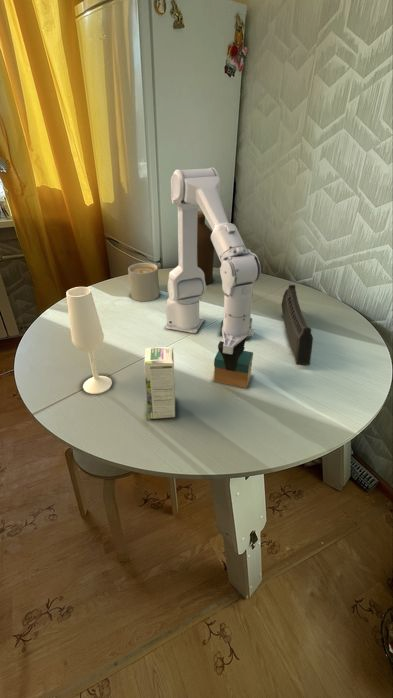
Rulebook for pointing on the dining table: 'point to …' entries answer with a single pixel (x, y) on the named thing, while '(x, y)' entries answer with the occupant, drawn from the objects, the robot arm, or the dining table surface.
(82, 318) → the champagne flute
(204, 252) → the olive oil
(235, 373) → the orange brown block
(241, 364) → the dark teal flat block
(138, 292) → the coffee mug
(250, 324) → the dark green block
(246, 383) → the brown wooden block
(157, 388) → the syrup box
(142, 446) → the dining table surface
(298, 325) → the magazine
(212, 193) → the robot arm
